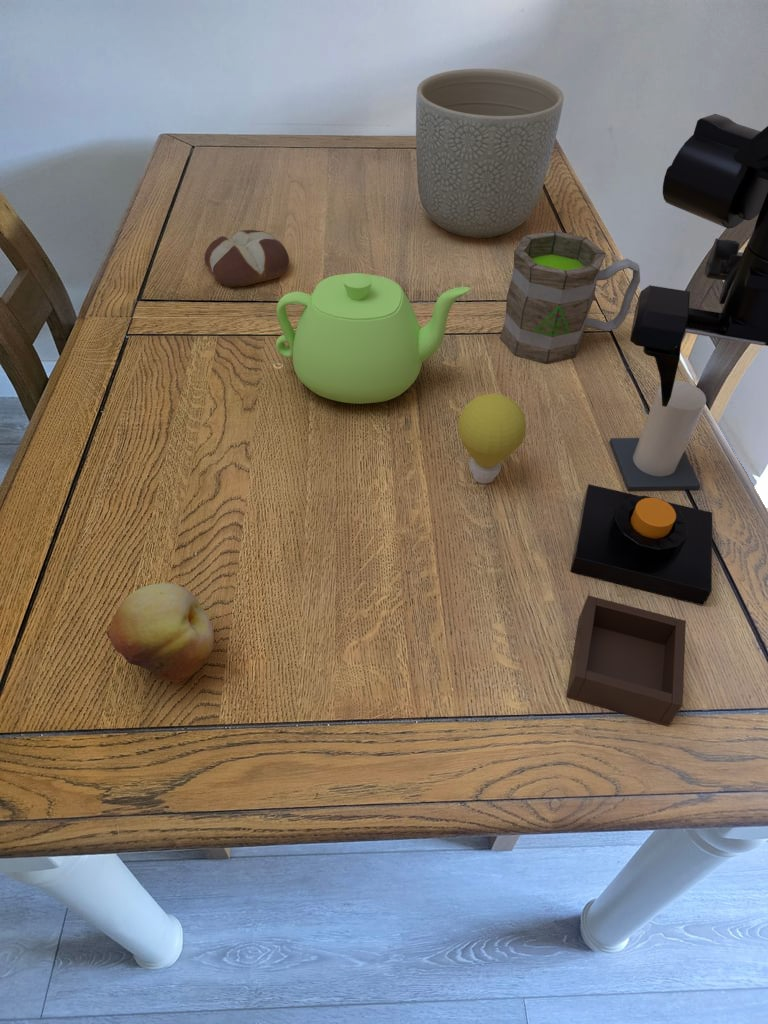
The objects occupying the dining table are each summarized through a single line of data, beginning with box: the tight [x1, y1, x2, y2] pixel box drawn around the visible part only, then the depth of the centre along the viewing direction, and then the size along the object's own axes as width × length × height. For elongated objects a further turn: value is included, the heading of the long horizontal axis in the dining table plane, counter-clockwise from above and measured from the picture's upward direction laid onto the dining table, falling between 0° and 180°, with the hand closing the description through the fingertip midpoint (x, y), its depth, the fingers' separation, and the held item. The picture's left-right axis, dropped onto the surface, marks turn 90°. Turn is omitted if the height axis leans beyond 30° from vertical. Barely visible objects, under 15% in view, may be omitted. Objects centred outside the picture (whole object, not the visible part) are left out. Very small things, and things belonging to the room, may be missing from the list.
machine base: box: [570, 483, 713, 606], centre depth 67 cm, size 12×10×4 cm
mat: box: [608, 437, 702, 492], centre depth 76 cm, size 8×8×1 cm
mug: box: [499, 230, 641, 365], centre depth 88 cm, size 16×11×12 cm
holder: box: [565, 595, 687, 727], centre depth 58 cm, size 8×8×4 cm
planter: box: [415, 68, 565, 239], centre depth 107 cm, size 21×21×19 cm
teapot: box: [275, 272, 470, 405], centre depth 81 cm, size 22×15×13 cm
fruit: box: [106, 582, 215, 683], centre depth 56 cm, size 8×8×8 cm
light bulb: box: [457, 392, 527, 485], centre depth 71 cm, size 7×7×10 cm
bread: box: [204, 229, 290, 288], centre depth 101 cm, size 11×11×5 cm
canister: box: [633, 380, 707, 477], centre depth 72 cm, size 5×5×9 cm
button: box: [631, 497, 676, 539], centre depth 65 cm, size 4×4×2 cm
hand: (716, 413), depth 64 cm, fingers open, 9 cm apart
